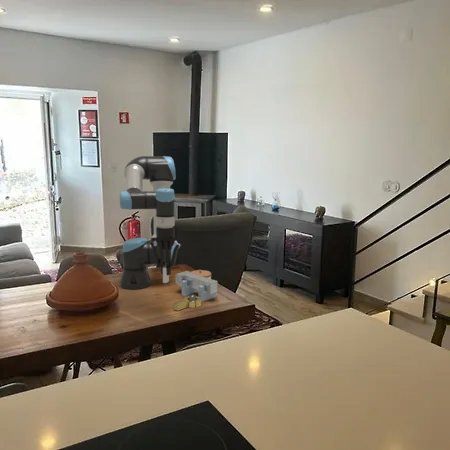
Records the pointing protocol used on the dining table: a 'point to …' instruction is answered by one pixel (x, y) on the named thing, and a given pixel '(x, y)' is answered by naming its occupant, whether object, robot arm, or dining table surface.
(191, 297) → the nut base
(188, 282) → the white t-shaped plate
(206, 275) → the lidded jar
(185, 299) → the gold box wrench
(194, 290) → the rack
